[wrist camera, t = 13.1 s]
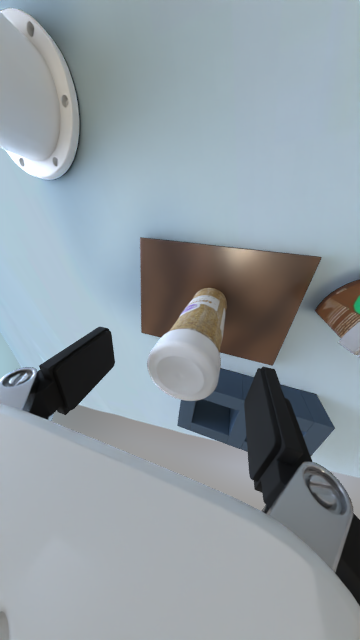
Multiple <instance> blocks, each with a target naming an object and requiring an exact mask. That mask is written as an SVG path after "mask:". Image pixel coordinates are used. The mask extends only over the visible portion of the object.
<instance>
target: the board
mask: <svg viewBox="0 0 360 640" xmlns="http://www.w3.org/2000/svg"><path fill="white" fill-rule="evenodd" d="M320 260H321V257H317V256H308V255H299V254H289V253H280V252H271V251H262V250H252V249H243V248H234V247H225V246H215V245H206V244H197V243H188V242H178V241H169V240H160V239H151V238H140V263H141V330H142V333H145V334H149V335H153V336H157V337H162V336H163V335H164V334H166V333H168V332H169V331H170V329H171V328H172V327H173V325H174V324H175V323H176V321H177V320H178V318H179V316H180V315H181V313H182V312H183V311H184V309H185V308H186V307H187V305H188V304H189V303H190V302H191V301H192V300H193V297H194V296H195V294H196V293H197V292H198V291H200V290H201V289H204V288H214V289H217V290H219V291H220V292H222V293H223V294H224V296H225V298H226V301H227V309H226V311H225V313H226V314H225V323H224V331H223V338H222V342H221V346H220V352H221V353H225V354H229V355H233V356H237V357H241V358H245V359H249V360H253V361H257V362H260V363H264V364H268V365H273V364H274V362H275V359H276V357H277V355H278V353H279V350H280V348H281V346H282V344H283V342H284V339H285V337H286V335H287V333H288V331H289V328H290V326H291V324H292V322H293V320H294V317H295V315H296V313H297V311H298V308H299V306H300V304H301V302H302V300H303V297H304V295H305V293H306V291H307V289H308V286H309V284H310V282H311V280H312V278H313V275H314V273H315V271H316V269H317V266H318V264H319V262H320Z"/></svg>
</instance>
